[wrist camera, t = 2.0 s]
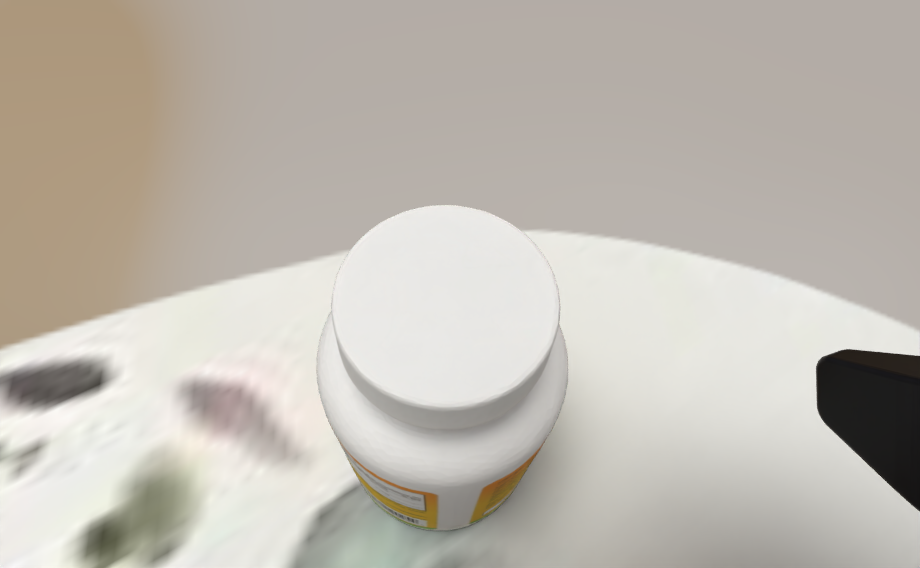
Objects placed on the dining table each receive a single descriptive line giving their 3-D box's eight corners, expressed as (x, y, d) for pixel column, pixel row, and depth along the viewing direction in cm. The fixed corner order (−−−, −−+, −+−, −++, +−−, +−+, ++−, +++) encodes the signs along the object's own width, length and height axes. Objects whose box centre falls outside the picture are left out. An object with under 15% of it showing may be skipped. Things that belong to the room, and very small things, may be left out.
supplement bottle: (510, 350, 21) (566, 160, 12) (541, 519, 18) (640, 430, 10) (348, 368, 20) (286, 182, 12) (356, 545, 18) (287, 474, 9)
